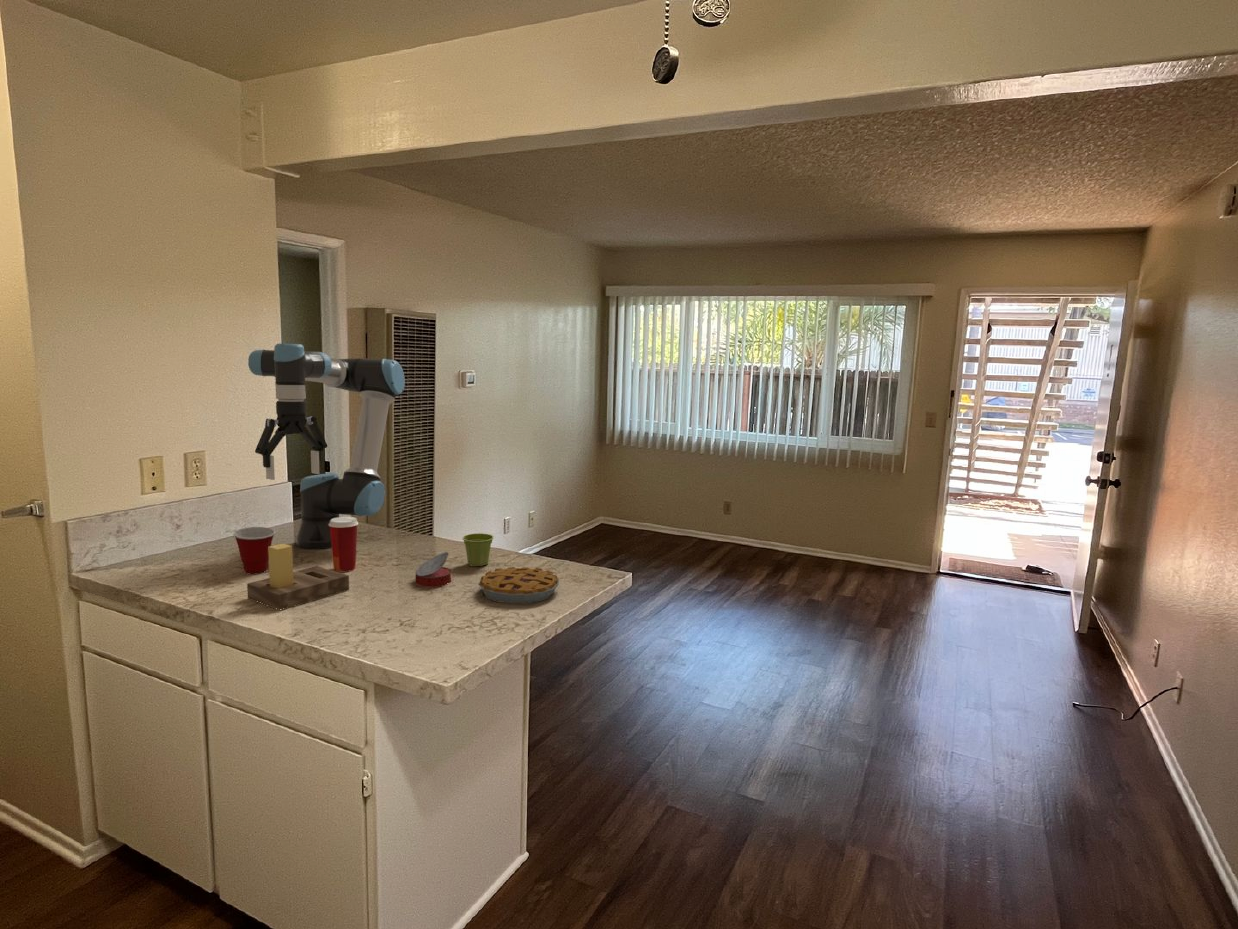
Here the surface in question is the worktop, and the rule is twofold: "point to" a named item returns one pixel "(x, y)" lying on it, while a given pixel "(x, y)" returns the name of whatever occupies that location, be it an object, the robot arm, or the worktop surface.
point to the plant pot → (478, 548)
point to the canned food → (433, 572)
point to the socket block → (299, 588)
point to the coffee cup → (344, 542)
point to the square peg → (280, 566)
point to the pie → (518, 585)
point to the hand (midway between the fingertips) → (293, 476)
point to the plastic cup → (254, 547)
